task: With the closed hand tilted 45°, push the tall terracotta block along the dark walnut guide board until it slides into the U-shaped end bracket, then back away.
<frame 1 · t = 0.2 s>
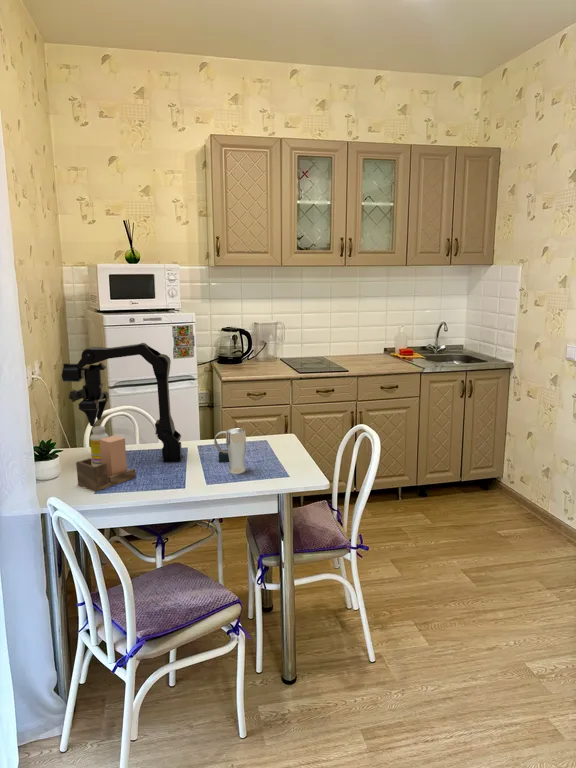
hand: (95, 422, 218), 15 cm above the table, tool pointing down, fingers open, 9 cm apart
terracotta block: (113, 457, 200), point 8 cm above the table, slide at 0.0 cm
watch: (225, 460, 220), on the table
supplement bottle: (101, 461, 221), on the table
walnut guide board: (107, 481, 200), on the table
beer glass: (237, 471, 208), on the table
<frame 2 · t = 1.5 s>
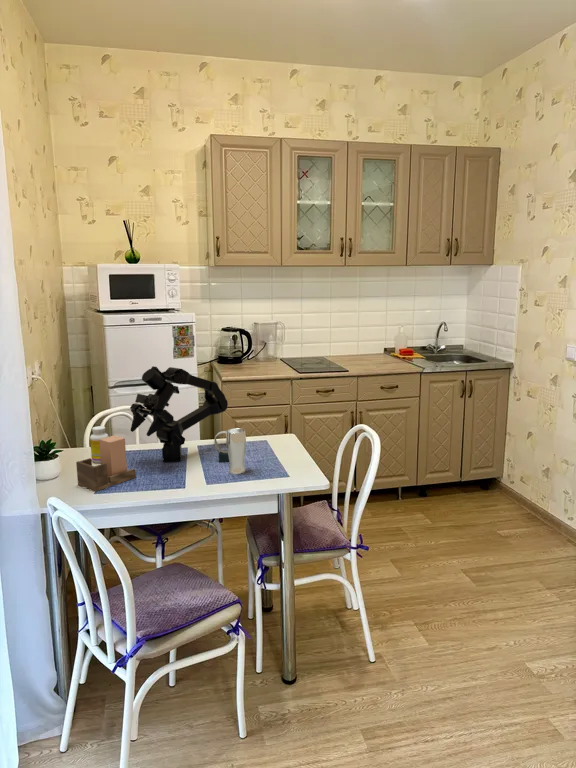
hand: (139, 433, 208), 13 cm above the table, tool tilted 45°, fingers open, 9 cm apart
nothing on the table moved.
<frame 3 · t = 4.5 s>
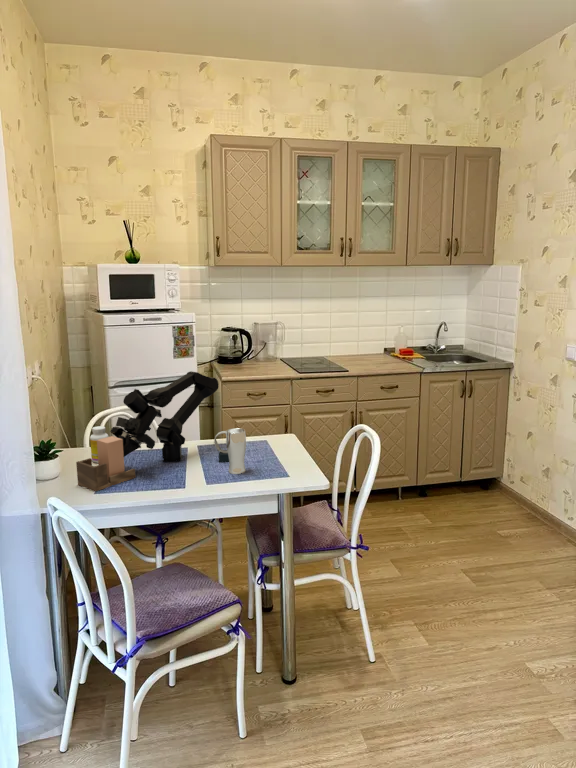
hand: (119, 458, 202), 7 cm above the table, tool tilted 45°, fingers closed, pressing on terracotta block
terracotta block: (111, 457, 200), point 8 cm above the table, slide at 1.0 cm, touching gripper
everything else where it was.
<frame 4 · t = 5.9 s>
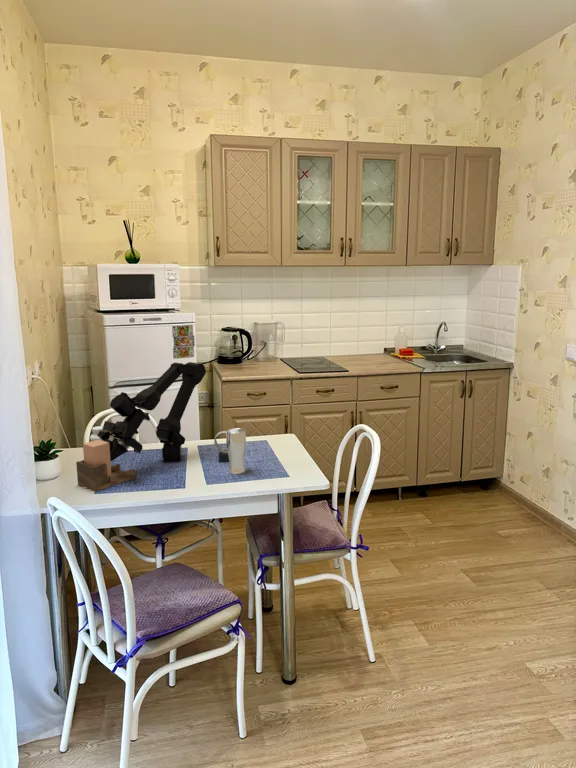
hand: (106, 462, 198), 7 cm above the table, tool tilted 45°, fingers closed
terracotta block: (97, 462, 195), point 8 cm above the table, slide at 6.3 cm
everything else where it was.
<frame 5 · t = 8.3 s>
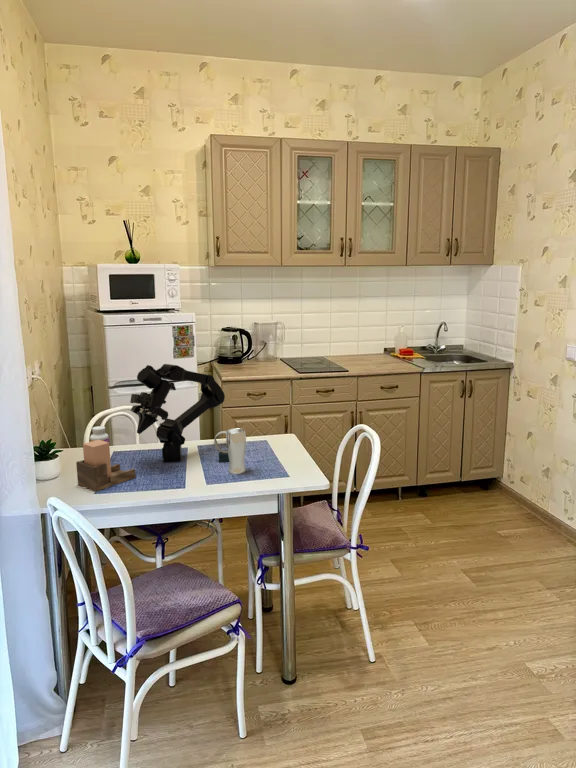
hand: (138, 433, 208), 14 cm above the table, tool tilted 40°, fingers closed
nothing on the table moved.
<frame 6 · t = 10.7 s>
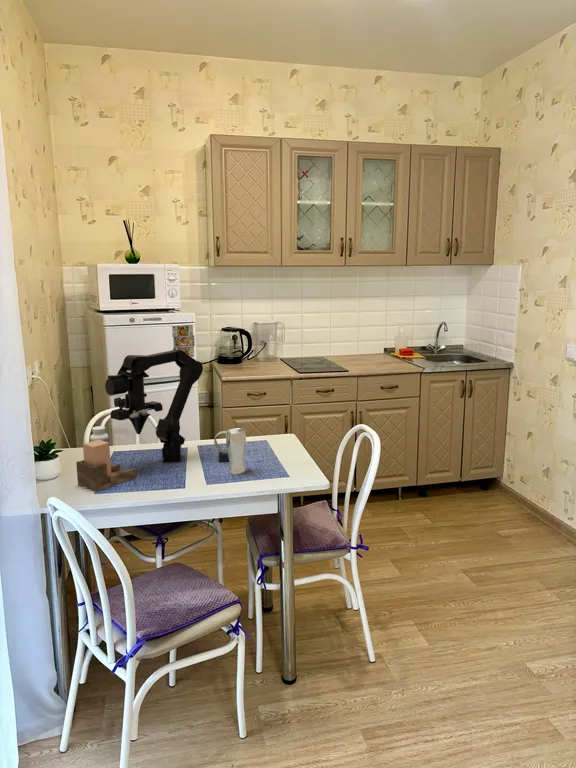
hand: (138, 433, 209), 13 cm above the table, tool pointing down, fingers closed
nothing on the table moved.
at the end: terracotta block slide at 6.3 cm; the gripper is holding nothing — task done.
